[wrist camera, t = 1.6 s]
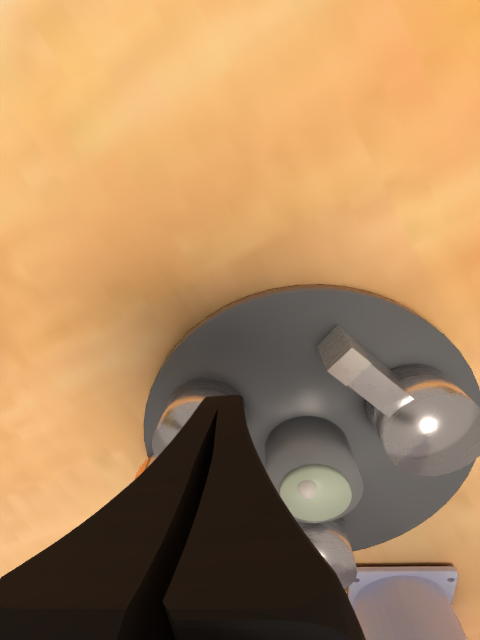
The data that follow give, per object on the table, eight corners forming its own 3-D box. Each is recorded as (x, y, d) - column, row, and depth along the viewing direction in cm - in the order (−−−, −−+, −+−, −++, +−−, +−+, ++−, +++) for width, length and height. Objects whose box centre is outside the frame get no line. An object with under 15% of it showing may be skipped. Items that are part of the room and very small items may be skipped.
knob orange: (197, 364, 17) (186, 394, 14) (262, 409, 17) (263, 446, 15) (119, 454, 19) (98, 493, 17) (179, 489, 20) (167, 532, 18)
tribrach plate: (446, 536, 22) (494, 622, 18) (180, 541, 24) (162, 620, 20) (499, 266, 15) (604, 295, 11) (115, 301, 17) (63, 339, 12)
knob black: (338, 496, 20) (350, 542, 17) (349, 543, 21) (362, 591, 19) (212, 515, 21) (206, 560, 18) (232, 558, 22) (229, 605, 20)
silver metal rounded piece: (472, 398, 16) (512, 435, 14) (404, 447, 18) (429, 490, 15) (360, 302, 15) (382, 324, 12) (295, 365, 16) (303, 396, 14)
